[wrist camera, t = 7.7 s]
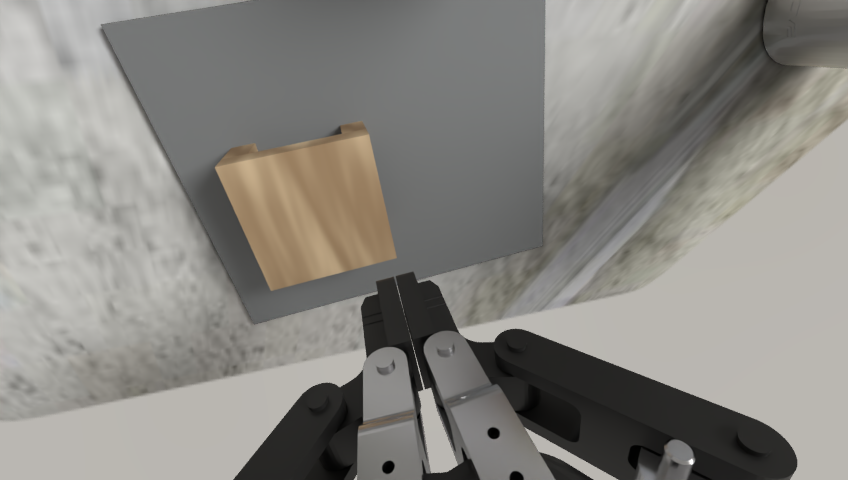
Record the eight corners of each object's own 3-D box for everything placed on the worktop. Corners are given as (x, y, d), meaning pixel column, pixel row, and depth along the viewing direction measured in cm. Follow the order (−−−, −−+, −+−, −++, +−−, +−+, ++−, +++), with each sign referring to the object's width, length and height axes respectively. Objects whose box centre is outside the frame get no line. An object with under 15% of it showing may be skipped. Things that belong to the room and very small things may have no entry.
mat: (542, -45, 22) (545, -46, 21) (540, 243, 32) (542, 246, 31) (104, 24, 19) (100, 24, 18) (255, 321, 29) (254, 324, 28)
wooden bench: (369, 134, 20) (214, 167, 19) (397, 257, 24) (270, 291, 23) (362, 120, 23) (231, 148, 22) (387, 230, 27) (277, 258, 26)
